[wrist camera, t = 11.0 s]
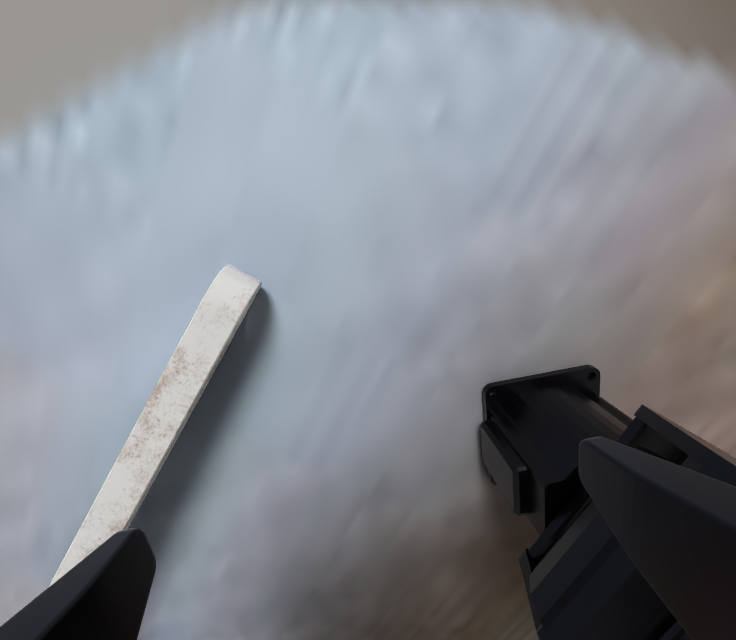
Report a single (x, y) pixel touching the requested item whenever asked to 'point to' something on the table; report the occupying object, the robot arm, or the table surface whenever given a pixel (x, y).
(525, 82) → the table surface
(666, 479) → the robot arm
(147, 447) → the wrench
